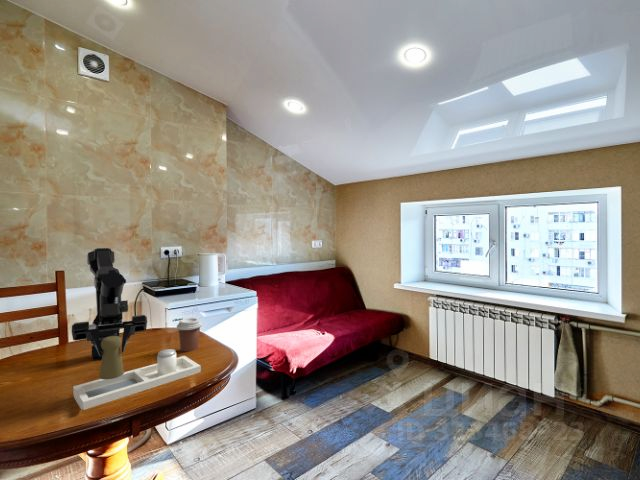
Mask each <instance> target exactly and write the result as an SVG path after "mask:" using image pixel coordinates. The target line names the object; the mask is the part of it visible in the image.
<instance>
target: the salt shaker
mask: <svg viewBox="0 0 640 480" xmlns="http://www.w3.org/2000/svg"><path fill="white" fill-rule="evenodd" d="M176 358H177V352H176V349H172V348H168V349H167V348H166V349H163V350H160V351H158V353H157V356H156V359H157V376H158V377H159V376H163V375H166V374H169V373H172V372H176V371H177V360H176Z"/></svg>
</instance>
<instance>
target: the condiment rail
mask: <svg viewBox="0 0 640 480" xmlns="http://www.w3.org/2000/svg"><path fill="white" fill-rule="evenodd" d="M176 360H177V371H176V372H172V373H169V374H166V375H163V376H159V377H158V376H157V363H153V364H150V365H147V366H143V367H142V366H141V367H139V368H134V369H132V370H128V371H124V374H123V375H121V376H120V377H117V378H114V379H101V378H99V379H95V380H92V381H88V382H84V383H81V384H78V385H74V386H73V390H72V391H73V399H74V400H75V402H76V403H77V405H78V407H79V409H81V411H84V410H87V409H91V408H94V407H97V406H99V405H103V404H107V403H109V402H112V401H115V400H118V399H121V398H126V397H128V396H131V395H135V394H137V393H140V392H144V391H146V390H149V389H153V388H155V387H159V386H161V385H166V384H168V383H171V382H175V381H176V380H181V379H183V378H187V377H189V376H192V375H197V374H199V373H202V366H201V364H198V363H197V362H195V361H194V360H192V359H191V358H189V357H188V356H186V355H181V356H179V357H176Z"/></svg>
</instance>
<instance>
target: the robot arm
mask: <svg viewBox="0 0 640 480" xmlns="http://www.w3.org/2000/svg"><path fill="white" fill-rule="evenodd" d="M115 260H116V259H115V251H113V250H112V249H111V248H109V247H97V248H95V249H94V250H92V251H90V252H87V257H86V264H87V266H89V271H90V272H91V273H92V274H93V276H94V277H93V282H94V283H93V285H94V286H93V287H94V289H95V301H96V315H95V318H94V319H93V321H92V324H90V321H89V320H87V321H80V322H74V323H73V324H72V325H71V336H72V341H76V342H77V341H82V340H86V341H87V342H90V344H92V345H91V358H92V361H99V360H100V361H101V360H102V355H103V349H102V348H101V341H102V340H103V339H104V338H106V337H109V336H119V337H120V332H121V331H120V330H123V332H122V338H121V339H122V345H121V354H122V353H124V352H125V348H126V345H127V344H128V341H129V339H130V338H131V336H133V335H135V333H140V332H145V331H147V325H148V318H147V315H146V314H140V315H139V314H138V315H131V320H128V321H127V320H126V321H123V313H128V312H129V301H128V300H122V294H123V290H124V286H125V284H127V279H126V278H125V277H124V276H123V274H121V272H120V270H119V269H118V268H116V267H114V263H115Z"/></svg>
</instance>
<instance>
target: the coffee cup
mask: <svg viewBox="0 0 640 480" xmlns="http://www.w3.org/2000/svg"><path fill="white" fill-rule="evenodd" d="M202 325H203V324H202V322H201V321H200V319H199V318H197V317H186V318H183V319H180V320H179V323H178V324H177V325H176V329H177V330H178V338H179V348H180V351H182V352H193V351H196V350H198V349H199V344H200V333H201V328H202Z"/></svg>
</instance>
